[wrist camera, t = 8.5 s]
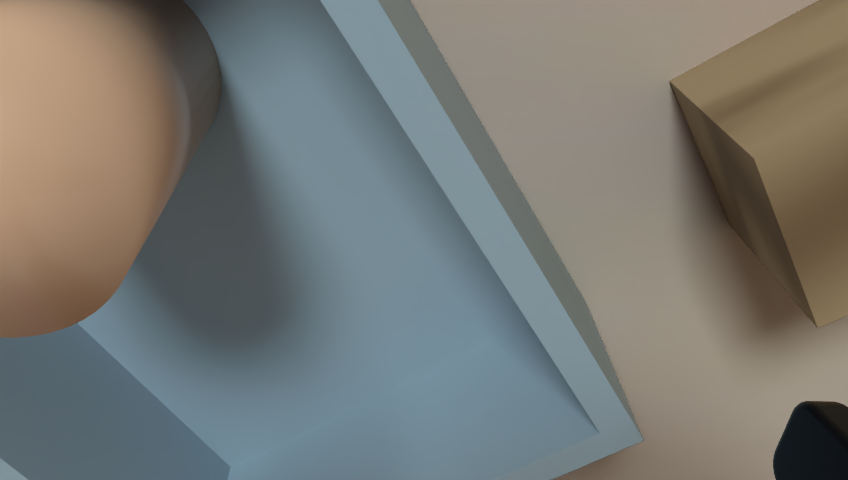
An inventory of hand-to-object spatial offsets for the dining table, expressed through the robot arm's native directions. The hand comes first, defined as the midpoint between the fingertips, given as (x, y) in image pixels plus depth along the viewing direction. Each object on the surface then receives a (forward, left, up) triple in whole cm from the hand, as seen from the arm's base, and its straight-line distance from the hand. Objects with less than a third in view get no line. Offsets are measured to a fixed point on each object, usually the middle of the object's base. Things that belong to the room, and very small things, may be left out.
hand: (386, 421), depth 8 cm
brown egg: (+4, +5, -12) cm, 13 cm away
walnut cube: (-6, -9, -12) cm, 16 cm away
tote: (0, +5, -12) cm, 13 cm away
